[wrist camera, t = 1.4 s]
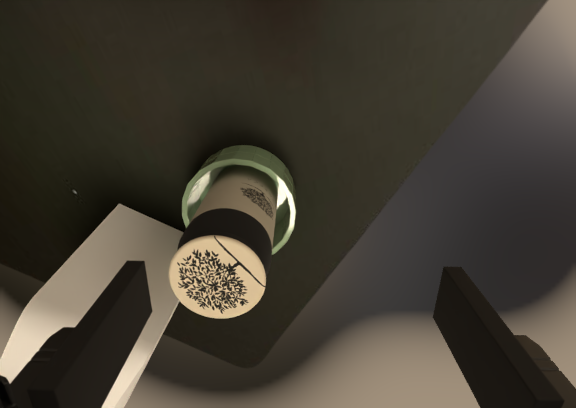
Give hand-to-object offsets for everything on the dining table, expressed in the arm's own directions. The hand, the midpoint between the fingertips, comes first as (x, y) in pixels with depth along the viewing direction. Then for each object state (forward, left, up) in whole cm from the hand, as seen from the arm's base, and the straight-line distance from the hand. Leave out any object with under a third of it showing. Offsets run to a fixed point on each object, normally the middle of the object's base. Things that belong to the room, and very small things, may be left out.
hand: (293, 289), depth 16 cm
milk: (-11, -22, -28) cm, 38 cm away
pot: (-3, -8, -28) cm, 30 cm away
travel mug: (-3, -8, -28) cm, 29 cm away
